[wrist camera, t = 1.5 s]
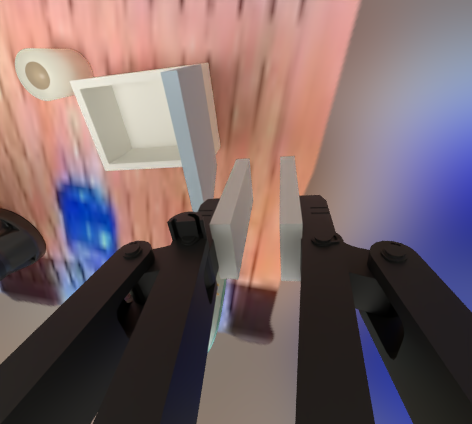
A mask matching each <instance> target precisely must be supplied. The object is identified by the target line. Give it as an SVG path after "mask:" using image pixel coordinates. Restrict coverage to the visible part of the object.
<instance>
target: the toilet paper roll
mask: <svg viewBox="0 0 472 424" xmlns="http://www.w3.org/2000/svg"><path fill="white" fill-rule="evenodd" d="M15 69H16V73H17V76H18V78H19V80H20V82H21V83H22V85H23V86H24V87H25V89H26V90H27V91H28V92H29V93H30V94H32V95H33V96H35V97H36V98H38V99H41V100H44V101H51V100H55V99H60V98H65V97H69V96H74V95H75V94H74V92H73V89H72V87H71V84H70V82H69V81H73V80H80V79H87V78H93V72H92V69H91V66H90V65H89V63H88V61H87V60H86V59H85V58H84V56H82V55H81V54H80V53H79V52H77V51H75V50H73V49H43V48H27V49H23V50H21V51H19V52H18V54H17V56H16V58H15Z"/></svg>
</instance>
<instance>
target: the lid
mask: <svg viewBox="0 0 472 424" xmlns="http://www.w3.org/2000/svg"><path fill="white" fill-rule="evenodd" d="M160 73H161V77H162V81H163V86H164V90H165V94H166V98H167V103H168V107H169V111H170V116H171V120H172V124H173V128H174V133H175V137H176V141H177V146H178V150H179V154H180V158H181V163H182V167H183V171H184V176H185V180H186V184H187V188H188V193H189V197H190V201H191V206H192V210H193V212H197V211H198V209H199V207H200V205H201V204H202V203H203V202H205V201H206V200H207V199H213V197H214V188H215V179H216V169H217V162H216V156H215V150H214V143H213V137H212V131H211V124H210V118H209V112H208V105H207V99H206V93H205V87H204V80H203V74H202V68H201V64H198V65H191V66H187V67H182V68H178V69H173V70H169V71H164V72H160Z"/></svg>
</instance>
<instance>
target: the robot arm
mask: <svg viewBox="0 0 472 424" xmlns="http://www.w3.org/2000/svg"><path fill="white" fill-rule="evenodd" d="M252 204H253V193H252V182H251V170H250V159H236V161H235V164H234V166H233V169H232V171H231V173H230V176H229V178H228V181H227V183H226V186H225V188H224V190H223V193H222V195H221V198H220V199H207V200H206V201H205V202H203V203H202V204H201V205H200V207H199V209H198V211H197V212H184V213H180V214H178V215H175V216H174V217H172V218H171V219H170V220H169V221H168V222H167V223H168V226H169V230H170V233H171V236H172V240H173V241H172V243H171V245H170V246H166V247H162V248H157V249H152V247H151V245H150V244H149V243H148V242H146V241H135V242H131V243H129V244H126V245H124V246H123V247H121V248H120V249H119V250H118V251H117V252H116V253H115V254H114V255H113V256H111V257H110V258H109V259H108V260H107V261H106V262H105V263H104V264H103V265H102V266H101V267H100V268H99V269H98V270H97V271H96V272H95V273H94V274H93V275H92V276H91V277H90V278H89V279H88V280H87V281H86V282H85V283H84V284H83V285H82V286H81V287H80V288H79V289H78V290H77V291H76V292H74V293H73V294H72V295H71V296H70V297H69V298H68V299H67V300H66V301H65V302H64V303H63V304H62V305H61V306H60V307H59V308H58V309H57V310H56V311H55V312H54V313H53V314H52V315H51V316H50V317H49V318H48V319H47V320H46V321H45V322H44V323H43V324H42V325H41V326H40V327H39V328H38V329H36V330H35V331H34V332H33V333H32V334H31V335H30V336H29V337H28V338H27V339H26V340H25V341H24V342H23V343H22V344H21V345H20V346H19V347H18V348H17V349H16V350H15V351H14V352H13V353H12V354H11V355H10V356H9V357H8V358H7V359H6V360H5V361H4V362H2V364H0V424H91V422H92V420H93V419H94V417H95V416H96V418H95V420H94V422H93V424H196V422H197V417H198V410H199V403H200V397H201V391H202V385H203V378H204V372H205V365H206V358H207V353H208V346H209V340H210V333H211V327H212V320H213V314H214V308H215V301H216V295H217V288H218V287H217V281H216V276H217V273H218V270H219V275H220V279H238V278H239V273H240V268H241V262H242V257H243V252H244V246H245V241H246V236H247V230H248V225H249V220H250V215H251V209H252ZM44 253H45V243H44V240H43V238H42V237H41V235H40V234H39V232H38V231H37V230H36V229H35V228H34V227H33V226H32V225H31V224H30V223H29V222H28V221H26V220H25V219H23V218H22V217H20V216H19V215H17V214H15V213H13V212H10V211H7V210H3V209H0V281H1V280H2V279H3V278H5V277H6V276H7V275H9V274H11V273H13V272H16V271H18V270H20V269H22V268H25V267H27V266H29V265H31V264H33V263H35V262H36V261H37V260H39V259H40V258H41V257H42V256H43V255H44ZM280 253H281V281H301V291H300V318H299V320H300V321H299V343H298V345H299V346H298V369H297V395H296V396H297V397H296V423H295V424H375V422H374V416H373V410H372V404H371V399H370V393H369V387H368V381H367V375H366V369H365V363H364V358H363V352H362V346H361V340H360V335H359V329H358V323H357V317H356V311H355V308H356V309H359V312H360V314H361V317H362V319H363V321H364V323H365V325H366V327H367V329H368V331H369V333H370V335H371V337H372V339H373V341H374V343H375V345H376V348H377V349H378V352H379V354H380V356H381V358H382V360H383V362H384V364H385V366H386V368H387V370H388V372H389V375H390V376H391V379H392V381H393V383H394V385H395V387H396V389H397V391H398V393H399V395H400V397H401V399H402V401H403V403H404V406H405V408H406V410H407V412H408V414H409V416H410V418H411V420H412V422H413V424H472V312H471V311H470V310H469V309H468V308H467V307H466V306H465V305H464V303H462V301H461V300H460V299H459V298H458V297H457V296H456V295H455V294H454V293H453V292H452V291H451V289H450V288H449V287H448V286H447V285H446V284H445V283H444V282H443V281H442V280H441V279H440V278H439V276H438V275H437V274H436V273H435V272H434V271H433V270H432V269H431V268H430V267H429V266H428V264H427V263H426V262H425V261H424V260H423V259H422V258H421V257H420V256H419V255H418V254H417V253H416V252H415V251H414V250H413V249H411V248H410V247H408V246H406V245H404V244H402V243H398V242H394V241H381V242H376V243H375V244H373V245H372V246H371V248H370V250H367V249H362V248H357V247H354V246H351V245H348V244H346V243H344V242H343V239H342V237H341V236H340V235H339V234H337V233H336V232H335V229H334V225H333V222H332V219H331V215H330V212H329V209H328V205H327V202H326V200H325V199H324V198H322V197H321V196H320V195H306V196H299V190H298V182H297V174H296V166H295V157H294V156H287V157H280ZM129 292H130V294H131V297H130V298H129V299H128V300H127V301H125V300H124V298H125V297H126V296H127V294H128V293H129ZM96 414H97V415H96Z"/></svg>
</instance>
